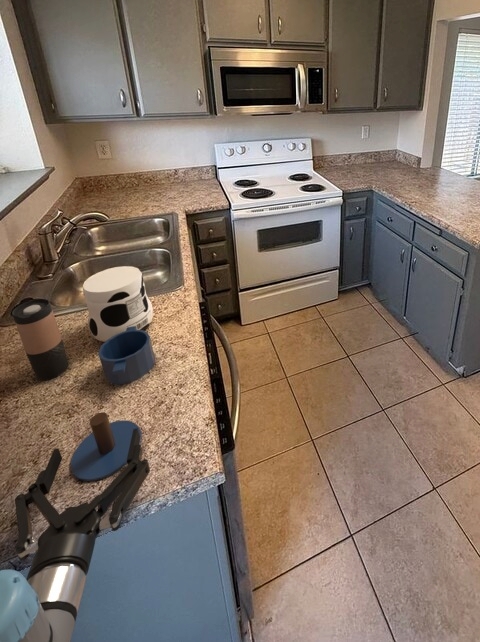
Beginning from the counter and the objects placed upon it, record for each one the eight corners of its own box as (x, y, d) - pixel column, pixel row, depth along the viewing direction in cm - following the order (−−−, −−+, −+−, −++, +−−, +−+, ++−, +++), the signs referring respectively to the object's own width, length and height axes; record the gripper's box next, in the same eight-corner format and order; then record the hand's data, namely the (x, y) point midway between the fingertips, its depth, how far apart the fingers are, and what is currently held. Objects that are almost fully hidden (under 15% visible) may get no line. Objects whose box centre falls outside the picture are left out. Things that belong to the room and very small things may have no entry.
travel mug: (59, 356, 100) (39, 295, 94) (76, 365, 97) (56, 302, 90) (28, 375, 94) (4, 311, 87) (45, 385, 91) (21, 319, 84)
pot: (97, 400, 86) (89, 374, 84) (113, 352, 102) (107, 328, 99) (150, 387, 90) (144, 362, 87) (158, 343, 105) (153, 320, 102)
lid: (62, 492, 67) (48, 458, 64) (83, 433, 78) (72, 401, 75) (136, 471, 70) (127, 437, 67) (146, 417, 81) (138, 386, 78)
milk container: (102, 317, 117) (89, 269, 111) (158, 308, 121) (149, 261, 115) (84, 353, 101) (68, 299, 95) (150, 341, 106) (138, 288, 100)
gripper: (-43, 632, 48) (28, 476, 67) (156, 562, 55) (170, 438, 74) (-64, 601, 46) (16, 448, 65) (147, 531, 52) (164, 411, 72)
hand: (98, 443), depth 70 cm, fingers open, 13 cm apart
